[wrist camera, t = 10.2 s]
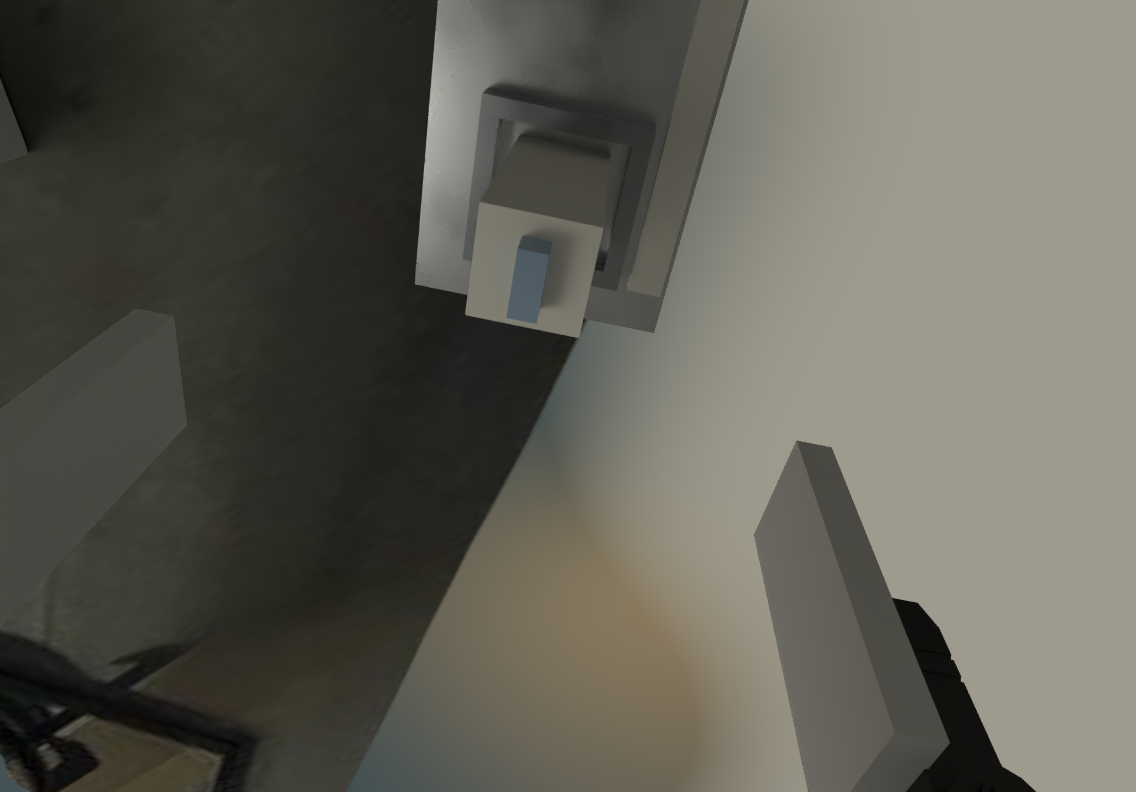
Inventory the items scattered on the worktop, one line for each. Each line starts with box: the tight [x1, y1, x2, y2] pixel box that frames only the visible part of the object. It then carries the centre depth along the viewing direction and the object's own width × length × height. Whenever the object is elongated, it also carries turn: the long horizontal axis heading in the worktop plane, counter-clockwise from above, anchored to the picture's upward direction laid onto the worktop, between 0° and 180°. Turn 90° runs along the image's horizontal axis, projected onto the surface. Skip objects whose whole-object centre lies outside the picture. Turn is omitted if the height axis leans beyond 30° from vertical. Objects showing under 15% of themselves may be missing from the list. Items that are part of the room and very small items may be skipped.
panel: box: [415, 0, 748, 333], centre depth 28 cm, size 26×12×2 cm, turn 169°
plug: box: [465, 135, 610, 338], centre depth 27 cm, size 4×4×11 cm
